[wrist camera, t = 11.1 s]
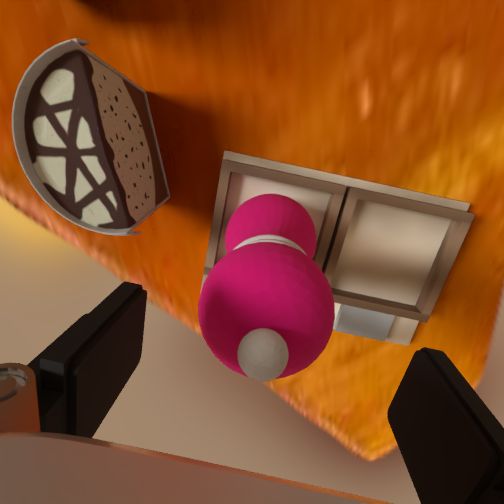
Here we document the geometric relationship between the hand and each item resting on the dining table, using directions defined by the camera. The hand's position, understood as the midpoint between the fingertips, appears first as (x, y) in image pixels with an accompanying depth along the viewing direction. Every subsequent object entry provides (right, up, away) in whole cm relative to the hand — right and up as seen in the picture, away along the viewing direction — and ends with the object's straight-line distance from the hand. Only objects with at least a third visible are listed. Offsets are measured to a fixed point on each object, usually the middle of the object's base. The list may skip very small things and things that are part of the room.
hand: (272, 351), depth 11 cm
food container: (-12, +13, +18) cm, 25 cm away
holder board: (+6, +3, +20) cm, 21 cm away
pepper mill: (+1, +6, +19) cm, 19 cm away
